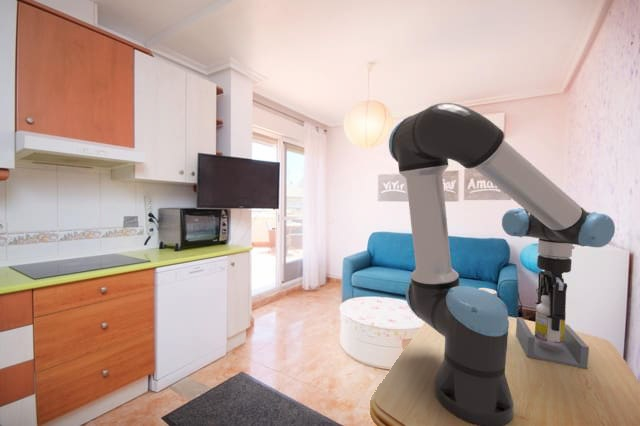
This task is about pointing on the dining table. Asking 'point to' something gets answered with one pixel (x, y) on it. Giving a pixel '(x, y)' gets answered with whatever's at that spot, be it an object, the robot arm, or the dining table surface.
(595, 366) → the dining table surface
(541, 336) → the supplement bottle
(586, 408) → the dining table surface
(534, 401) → the dining table surface
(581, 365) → the u cradle
